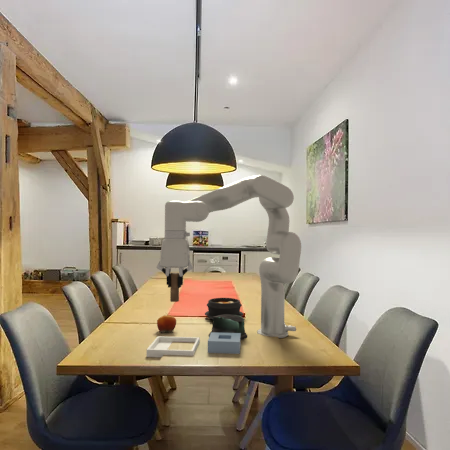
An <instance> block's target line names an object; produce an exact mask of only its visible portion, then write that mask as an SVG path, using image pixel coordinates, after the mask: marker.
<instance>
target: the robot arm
mask: <svg viewBox="0 0 450 450" xmlns="http://www.w3.org/2000/svg"><path fill="white" fill-rule="evenodd" d="M254 198H258V201H259V203H260V205H261V207H262V208H263V209H264V210H265V212H266V213H267V216H268V227H267V235H266V240H265V241H266V242H265V248H266V250H267V251H268V253H271V254H273V255H279V257H274V256H273V257H271V256H270V257H266V258H264V259H263V260H262V261H261V262H260V264H259V267H258V269H259V270H258V271H259V279H260V284H261V285H260V287H261V290H260V291H261V294H260V295H261V296H260V297H261V298H260V305H261V307H260V328H259V329H258V330H257V331H256V333H257V335H260V336H264V337H278V339H282V338H283V339H284V338H286V337H288V336H289V332H296V331H297V327H296V326H293V325H287V324H286V323H285V297H286V295H285V294H286V291H285V287H284V284H286V285H288V284H291V283H293V282H294V281H295V280H296V278H297V277H298V274H299V267H300V262H301V261H300V260H301V253H302V242H301V239H300V237H299V236H298V234H296V233H295V232H292V231H290V216H289V213H288V210H287V208H289V207H290V206H292V204H293V202H294V199H295V197H294V193H293V191H292V190H291V188H290V187H288V186H287V185H285V184H283V183H281V182H279V181H276V180H275V179H272V178H270V177H268V176H265V175H263V174H258V175H256V174H255V175H251V176H247V177H244V178H241V179H240V180H237V181H234V182H232V183H229V184H227V185H225V186H222V187H219V188H217V189H214V190H212V191H210V192H206V193H204V194H202V195H198V196H197V197H194V198H192V199H190V200H189V199H188V200H187V201H181V200H170V201H166V202H165V204H164V239H162V241H161V242H162V243H161V248H160V249H161V250H160V258H159V259H160V260H159V262H158V264H157V265H156V269H157V270H159V271H161V272H163V274H164V275H165V276H166V286H167V288H171V273H172V272H171V270H172V268H175V269H176V268H178V273H179V277H178V288H179V289H180V288H181V287H182V286H183V285H184V275H185V274H186V273H187V272H190V271H191V270H193V269H194V265H193V264H192V263H191V258H190V256H191V255H190V253H191V252H190V244H189V239H187V237H190V236H191V234H190V232H188V231H187V222H193V223H199V222H203V221H205V220H206V219H208V217H209V214H210V213H213V212H218V211H225V210H228V209H232V208H233V207H235V206H238V205H240V204H242V203H245V202H247V201H249V200H251V199H254Z"/></svg>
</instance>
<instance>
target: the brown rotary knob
mask: <svg viewBox="0 0 450 450" xmlns="http://www.w3.org/2000/svg"><path fill="white" fill-rule="evenodd" d="M211 332H217V333H241V341H245V340H246V339H247V338H248V334H247V332H246V329H245V318H244V317H243V316H237V315H231V314H223V315H218V316H215V317H213V320H212V326H211V331H210V332H209V334H208V338H209V337H210V334H211Z"/></svg>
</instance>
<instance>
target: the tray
mask: <svg viewBox="0 0 450 450" xmlns="http://www.w3.org/2000/svg"><path fill="white" fill-rule="evenodd" d="M200 341H201V340H200V337H194V336H193V337H191V336H166V335H165V336H163V335H162V336H161V335H160V336H159V335H157V337H155V339H154V340H153V341H152V343H150V344H149V346H148V347H147V348H146V354H145V355H146V357H147V358H163V357H164V356H187V357H188V356H194V355H195V352H196V351H197V348H198V346H199V344H200ZM173 342H178V343H181V342H183V343H184V342H185V343H194V344H193V346H192V348H191V349H169V348H170V346H171V345H172V343H173Z"/></svg>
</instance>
